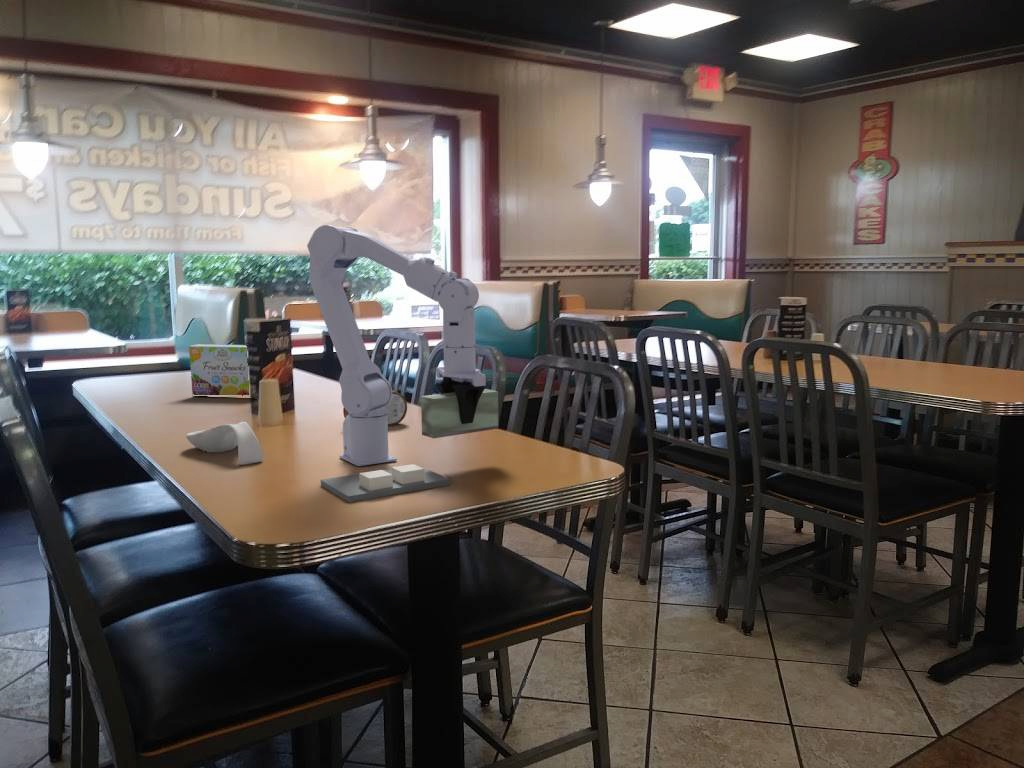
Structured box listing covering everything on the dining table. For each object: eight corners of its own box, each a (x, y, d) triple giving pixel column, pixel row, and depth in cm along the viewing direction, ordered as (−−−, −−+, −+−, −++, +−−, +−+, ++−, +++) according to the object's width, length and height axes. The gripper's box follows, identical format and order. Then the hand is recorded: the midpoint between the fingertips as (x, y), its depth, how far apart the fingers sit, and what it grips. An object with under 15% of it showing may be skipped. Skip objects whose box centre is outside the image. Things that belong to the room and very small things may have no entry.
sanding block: (422, 434, 143) (421, 396, 142) (485, 425, 151) (485, 388, 150) (433, 438, 139) (432, 399, 138) (498, 428, 148) (497, 391, 147)
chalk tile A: (359, 485, 130) (359, 473, 130) (382, 481, 132) (381, 469, 132) (369, 490, 127) (369, 478, 126) (392, 486, 129) (392, 474, 128)
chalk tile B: (392, 479, 134) (391, 467, 133) (413, 475, 136) (413, 464, 135) (402, 484, 130) (402, 472, 130) (424, 480, 132) (424, 468, 132)
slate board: (320, 485, 134) (320, 479, 133) (417, 470, 143) (417, 464, 143) (348, 502, 124) (348, 496, 123) (450, 484, 134) (449, 478, 133)
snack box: (191, 397, 229) (187, 345, 227) (201, 394, 234) (198, 343, 232) (260, 399, 225) (257, 346, 223) (269, 396, 231) (266, 344, 229)
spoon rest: (178, 449, 163) (176, 414, 162) (235, 441, 171) (233, 408, 170) (222, 470, 145) (220, 431, 144) (283, 460, 153) (281, 423, 152)
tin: (403, 422, 189) (402, 387, 188) (409, 424, 187) (408, 388, 186) (343, 429, 181) (341, 392, 180) (348, 431, 179) (346, 394, 178)
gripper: (500, 348, 139) (500, 424, 141) (458, 342, 151) (459, 413, 153) (465, 350, 135) (466, 429, 137) (425, 344, 147) (427, 416, 149)
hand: (460, 421), depth 145 cm, fingers closed on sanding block, 4 cm apart
